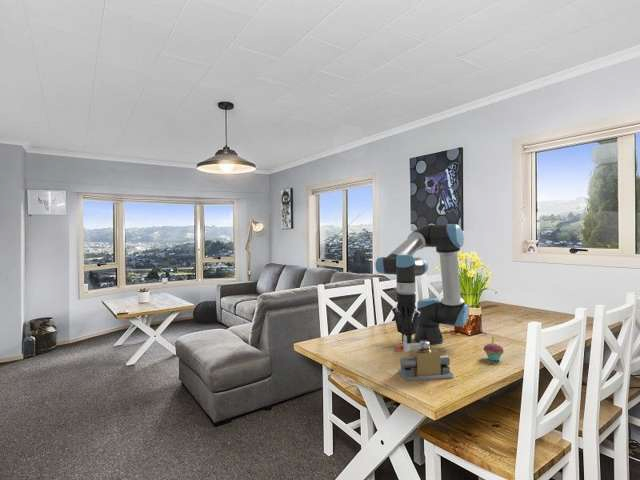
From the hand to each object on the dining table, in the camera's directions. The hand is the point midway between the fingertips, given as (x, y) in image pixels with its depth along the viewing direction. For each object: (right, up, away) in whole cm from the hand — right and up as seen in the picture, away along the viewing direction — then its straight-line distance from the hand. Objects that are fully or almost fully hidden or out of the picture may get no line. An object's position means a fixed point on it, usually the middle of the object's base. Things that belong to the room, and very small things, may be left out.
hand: (406, 350), depth 147 cm
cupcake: (+46, -11, +22) cm, 52 cm away
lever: (+3, -1, +4) cm, 5 cm away
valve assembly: (+9, -12, +5) cm, 16 cm away
